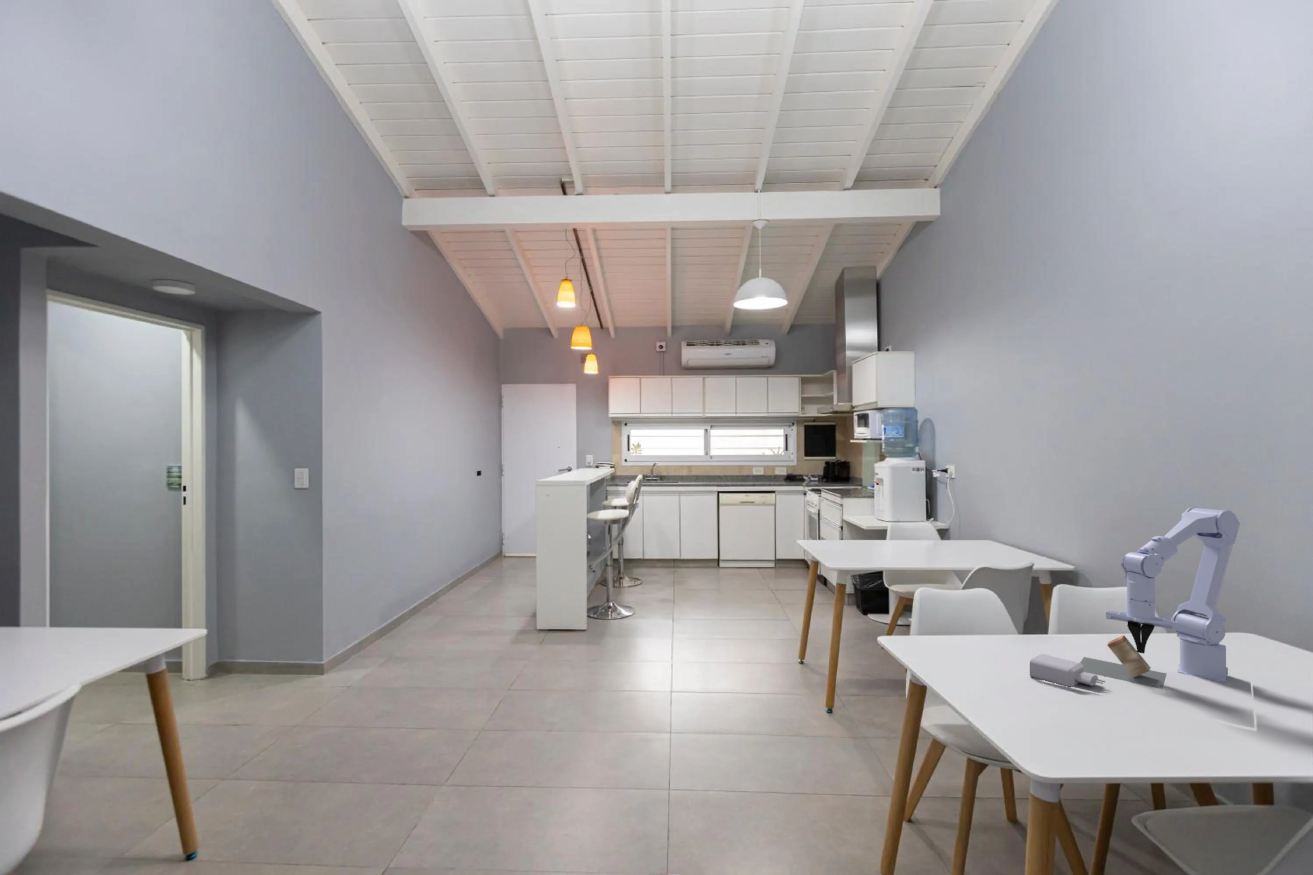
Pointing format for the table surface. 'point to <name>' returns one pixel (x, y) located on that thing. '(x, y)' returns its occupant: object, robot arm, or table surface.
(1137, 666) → the maple block
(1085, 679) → the charger
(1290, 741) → the table surface
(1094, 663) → the rubber mat
